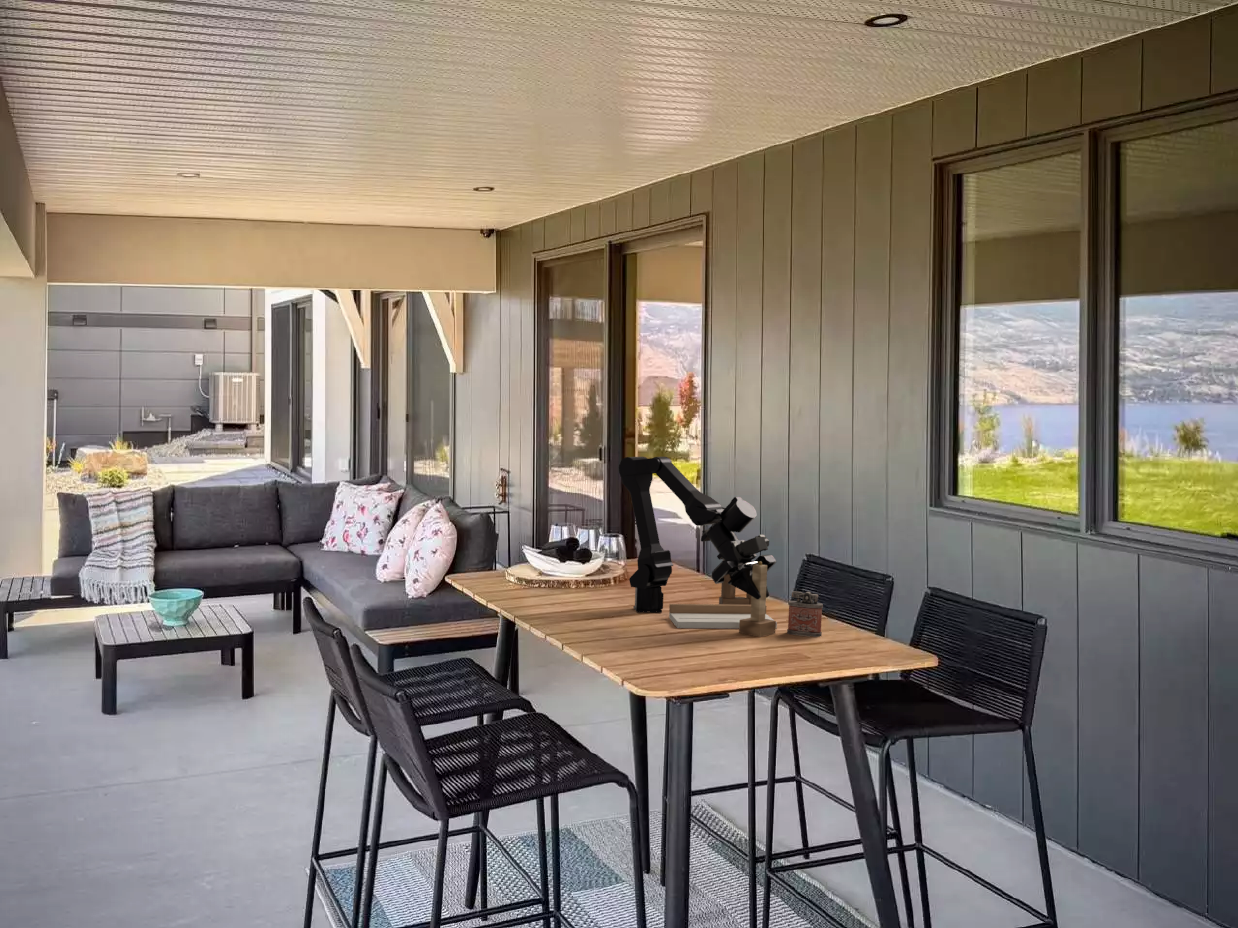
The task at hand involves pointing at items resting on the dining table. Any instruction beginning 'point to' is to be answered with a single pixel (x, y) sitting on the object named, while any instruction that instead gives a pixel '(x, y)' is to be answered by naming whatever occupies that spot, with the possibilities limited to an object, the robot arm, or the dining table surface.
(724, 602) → the brown wooden block structure
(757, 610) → the wooden post on base
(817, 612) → the lighter
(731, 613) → the board
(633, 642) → the dining table surface
